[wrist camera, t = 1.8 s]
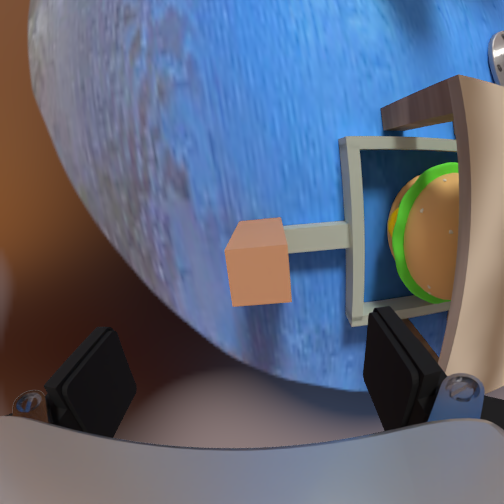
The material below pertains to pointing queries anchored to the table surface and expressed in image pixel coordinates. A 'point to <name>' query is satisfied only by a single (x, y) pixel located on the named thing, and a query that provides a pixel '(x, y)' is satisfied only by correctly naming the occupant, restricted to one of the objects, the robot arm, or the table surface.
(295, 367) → the table surface
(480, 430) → the robot arm
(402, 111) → the tunnel
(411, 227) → the hamburger
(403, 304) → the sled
